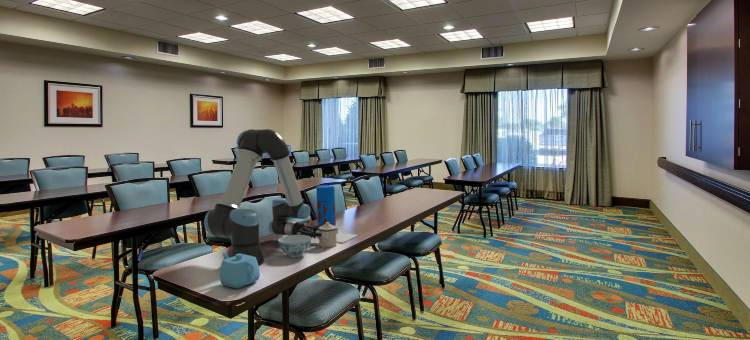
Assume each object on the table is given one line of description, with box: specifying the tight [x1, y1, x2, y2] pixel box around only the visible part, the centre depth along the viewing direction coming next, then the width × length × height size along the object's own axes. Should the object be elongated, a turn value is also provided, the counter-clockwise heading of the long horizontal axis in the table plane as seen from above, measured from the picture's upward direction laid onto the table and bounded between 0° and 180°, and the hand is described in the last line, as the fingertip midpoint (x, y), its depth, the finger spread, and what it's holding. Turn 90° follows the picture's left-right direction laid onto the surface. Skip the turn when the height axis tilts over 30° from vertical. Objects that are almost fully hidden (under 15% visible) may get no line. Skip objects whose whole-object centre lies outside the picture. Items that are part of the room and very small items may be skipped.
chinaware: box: [277, 235, 312, 258], centre depth 191 cm, size 15×15×8 cm
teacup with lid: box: [316, 222, 338, 248], centre depth 208 cm, size 12×9×12 cm
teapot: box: [219, 252, 261, 289], centre depth 157 cm, size 12×18×12 cm
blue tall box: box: [315, 184, 337, 227], centre depth 244 cm, size 11×11×25 cm
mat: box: [336, 232, 359, 244], centre depth 221 cm, size 16×14×1 cm
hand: (332, 233), depth 206 cm, fingers closed on teacup with lid, 9 cm apart
